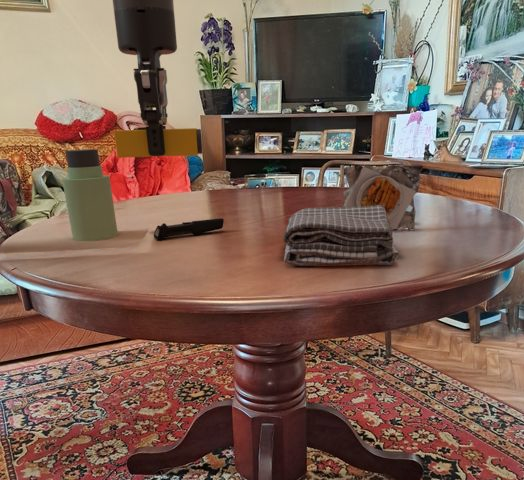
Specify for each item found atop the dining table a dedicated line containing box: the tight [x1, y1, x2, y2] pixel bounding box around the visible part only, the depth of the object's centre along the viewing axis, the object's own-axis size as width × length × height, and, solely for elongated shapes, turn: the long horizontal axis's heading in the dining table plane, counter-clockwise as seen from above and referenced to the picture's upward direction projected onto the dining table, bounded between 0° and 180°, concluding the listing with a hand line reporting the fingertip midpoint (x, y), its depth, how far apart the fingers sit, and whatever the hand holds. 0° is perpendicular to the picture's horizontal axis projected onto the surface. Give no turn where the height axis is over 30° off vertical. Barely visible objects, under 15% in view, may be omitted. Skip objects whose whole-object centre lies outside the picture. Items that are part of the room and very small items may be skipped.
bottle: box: [61, 148, 119, 242], centre depth 102 cm, size 9×9×18 cm
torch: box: [113, 126, 203, 159], centre depth 71 cm, size 12×3×4 cm, turn 95°
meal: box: [341, 164, 424, 230], centre depth 105 cm, size 15×4×13 cm, turn 90°
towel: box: [282, 205, 399, 267], centre depth 87 cm, size 15×18×8 cm
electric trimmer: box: [153, 217, 225, 241], centre depth 109 cm, size 4×16×3 cm, turn 117°
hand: (158, 154), depth 72 cm, fingers closed on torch, 3 cm apart
